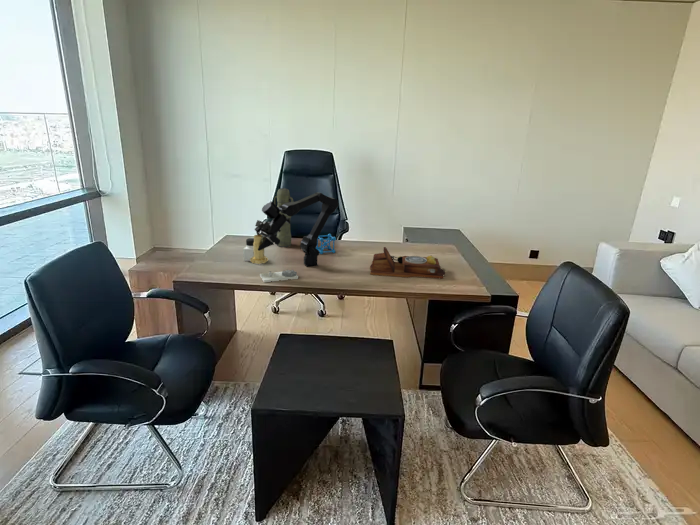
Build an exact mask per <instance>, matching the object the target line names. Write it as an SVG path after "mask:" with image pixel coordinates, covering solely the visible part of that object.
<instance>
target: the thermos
mask: <svg viewBox="0 0 700 525" xmlns="http://www.w3.org/2000/svg"><path fill="white" fill-rule="evenodd" d="M289 202H294V199H293V197H292V196H291V194H290V190H289V189H288V188H285V187H281V188H279V189H278V190H277V193H276V195H275V196H274V197H273V203H274V204H275V205H276V206H277V207H279V206H282V205H283V204H284V203H289ZM279 213H280V214H283V213H281V212H279ZM284 215H285V214H284ZM285 216H286V217H288V218H290V220H291V218H292V216H288V215H285ZM280 230H281V231H280V232H277V233H276V237H277V238H279V239H280V243H279V244H278V245H276V246H277V247H279V248H289V247H291V246H292V232H291V223H290V224H289V223H287V222H286V223H285V224H284V225H283V226H282V227H281V229H280ZM288 246H289V247H288Z"/></svg>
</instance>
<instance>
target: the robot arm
mask: <svg viewBox="0 0 700 525" xmlns="http://www.w3.org/2000/svg"><path fill="white" fill-rule="evenodd" d="M318 202H319V203H321V212H320V213H319V215H318V216H317V219H316V220H315V223H314V225H313V226H312V228H311V230H310V232H309V234H307V235H304V236H303V237H302V239H301V241H300V244H299V245H300V246H299V247H300V249H301V250H302V253H304V256H303V265H304V266H305V267H306V268H310V267H311V268H312V267H319V264H318V256H320V251H318V250H317V249H316V247H317V238H318V236H321V235H320V234H321V232H322V231H323V228H324V226H325V225H326V223H327V221H328V220H329V217H330V215H332V214H333V213H335V212H336V210H337V208H338V207H339V200H338V199H337V198H334V197H331V196H327V195H325V194H323V193H322V192H318V191H317V192H314V193H313V194H310V195H309V196H305V197H303V198H302V199H299V200H296V201H293V202H291V201H290V202H289V203H284V204H283V205H282V206H279V207H277V204H276V205H275V204H274V201H271V200H270V201H269V202H268V203H266V204H263V206H262V208H261V212H262V213H264V215H265V216H266V217H268V219H269V220H271V219H272V220H271V221H266V220H264V221H261V220H259V219H257V220H256V223H255V228H254V231H255V232H256V235H262V236H263V242H262V243H261V245H260V246H259V248H258V250H259V251H260V250H262V249H264V250H265V249H267V248H269V247H271V246H274V245H276V246H277V245H278V244H279V243H280V239H279V238H277V232H280V231H281V230H280V229H281V227H282V226H283V225H284V224H285V223H286V222H287V223H289V224H290V225H291V219H290V218H288V217H286V216H285V215H288V216H291V217H294V216H295V215H297V214H298V213H299V212H300V211H301V210H302V209H304V208H307V207H309V206H312V205H314V204H316V203H318ZM279 212H281V213H283V214H280V213H279ZM284 214H285V215H284ZM318 239H319V238H318Z"/></svg>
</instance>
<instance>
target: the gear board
mask: <svg viewBox="0 0 700 525" xmlns="http://www.w3.org/2000/svg"><path fill="white" fill-rule="evenodd" d="M297 273H298V272H297V271H295V270H294V269H291V270H290V269H286V270H282V271H276V272H272V271H268V272H265V273H259V277H260V278H262V279H261V280H262V281H263V282H262V283H269V282H271V281H272V282H278V281H279V280H281V281H289V280H288V279H291V280H297V279H299V275H297ZM279 282H280V281H279Z"/></svg>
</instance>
